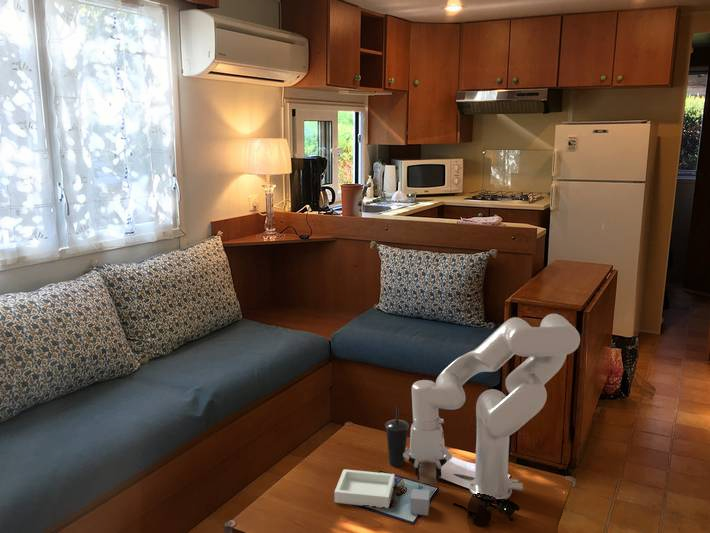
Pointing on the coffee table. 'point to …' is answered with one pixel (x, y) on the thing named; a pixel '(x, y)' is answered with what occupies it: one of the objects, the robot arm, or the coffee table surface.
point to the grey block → (420, 501)
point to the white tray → (364, 488)
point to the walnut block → (427, 471)
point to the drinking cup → (396, 440)
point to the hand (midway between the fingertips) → (428, 477)
